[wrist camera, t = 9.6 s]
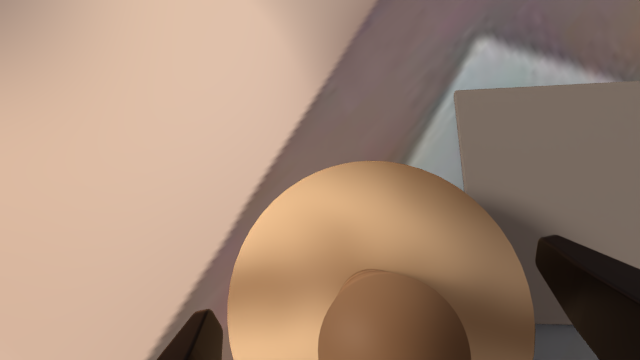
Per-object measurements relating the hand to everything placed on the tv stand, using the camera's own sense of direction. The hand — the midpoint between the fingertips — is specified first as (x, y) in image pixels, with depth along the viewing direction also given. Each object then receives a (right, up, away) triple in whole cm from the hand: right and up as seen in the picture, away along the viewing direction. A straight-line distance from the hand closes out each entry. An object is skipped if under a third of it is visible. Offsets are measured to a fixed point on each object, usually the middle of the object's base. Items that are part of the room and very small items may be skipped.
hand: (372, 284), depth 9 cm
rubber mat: (+16, +2, +12) cm, 19 cm away
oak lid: (+1, -3, +7) cm, 8 cm away
